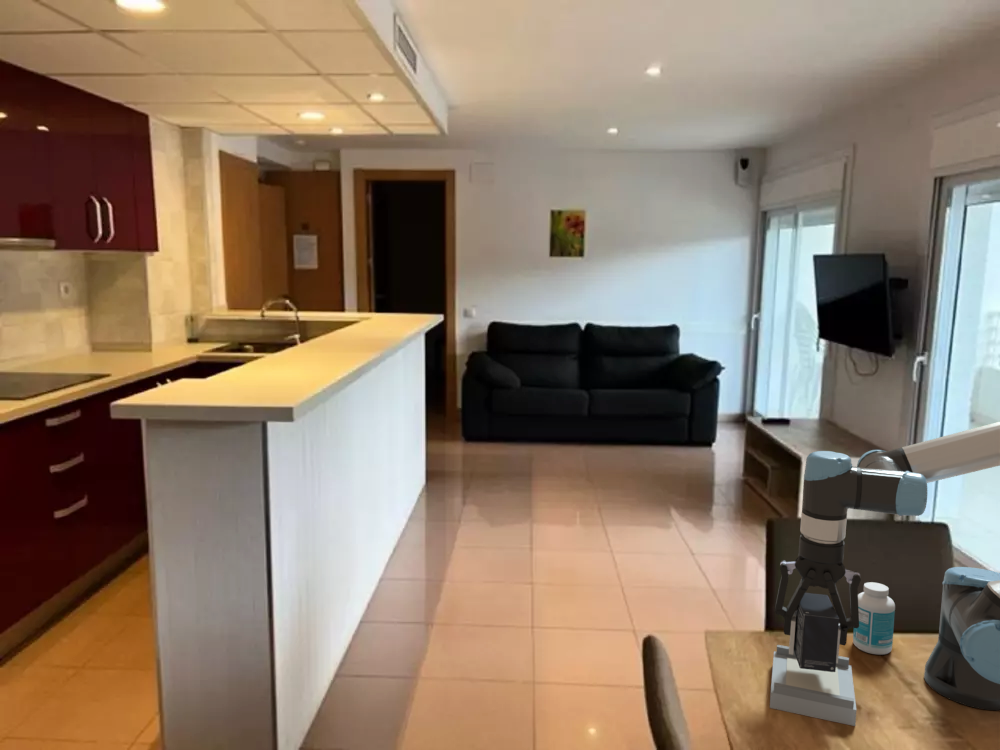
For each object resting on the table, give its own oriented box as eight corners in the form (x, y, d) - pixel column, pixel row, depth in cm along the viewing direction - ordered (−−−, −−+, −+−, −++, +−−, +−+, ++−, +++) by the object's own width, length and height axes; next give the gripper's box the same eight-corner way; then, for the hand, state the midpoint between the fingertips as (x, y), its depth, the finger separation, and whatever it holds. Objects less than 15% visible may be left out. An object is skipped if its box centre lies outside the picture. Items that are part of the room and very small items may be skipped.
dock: (849, 680, 142) (851, 658, 142) (855, 726, 128) (857, 702, 127) (773, 665, 148) (774, 644, 147) (769, 707, 133) (771, 684, 132)
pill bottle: (893, 645, 156) (898, 584, 154) (890, 660, 150) (895, 597, 148) (854, 635, 160) (859, 576, 158) (849, 649, 154) (854, 588, 152)
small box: (838, 673, 131) (841, 618, 130) (799, 669, 132) (802, 614, 131) (826, 645, 141) (828, 593, 140) (790, 641, 143) (792, 590, 141)
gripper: (881, 538, 133) (870, 656, 136) (765, 522, 141) (757, 635, 144) (885, 552, 126) (874, 677, 130) (763, 535, 134) (755, 653, 137)
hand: (813, 655), depth 137 cm, fingers closed on small box, 7 cm apart
